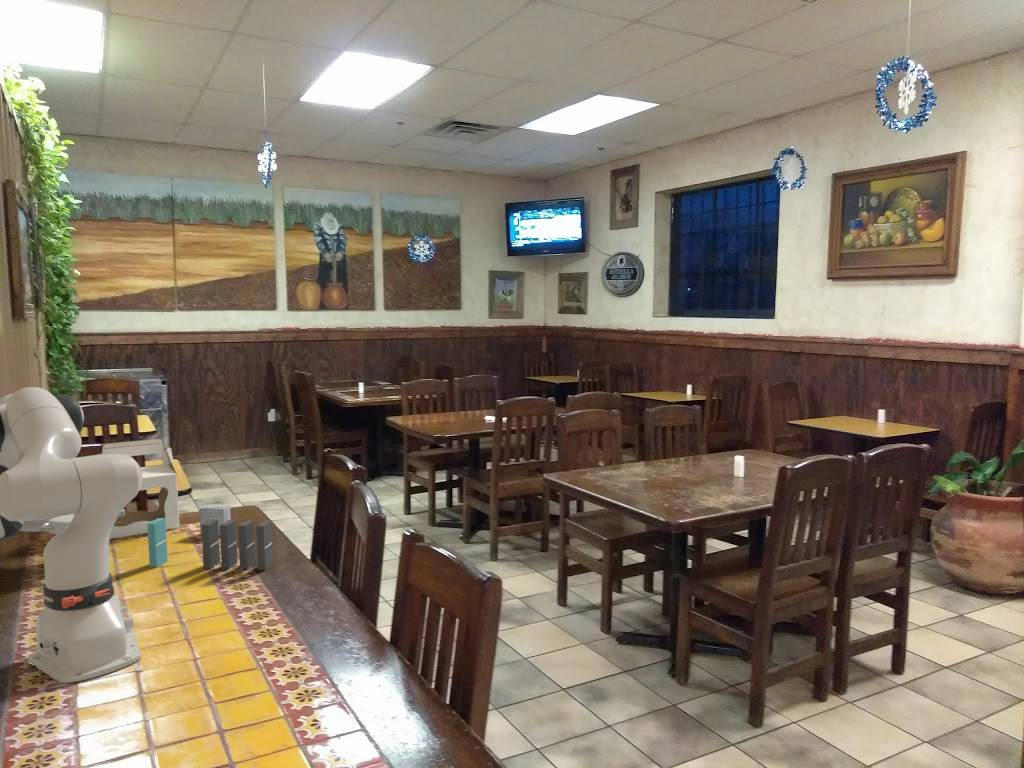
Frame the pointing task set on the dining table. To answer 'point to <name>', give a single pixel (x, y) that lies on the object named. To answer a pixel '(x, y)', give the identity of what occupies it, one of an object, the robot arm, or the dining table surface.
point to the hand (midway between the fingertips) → (112, 518)
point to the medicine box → (214, 514)
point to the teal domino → (157, 542)
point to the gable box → (149, 487)
